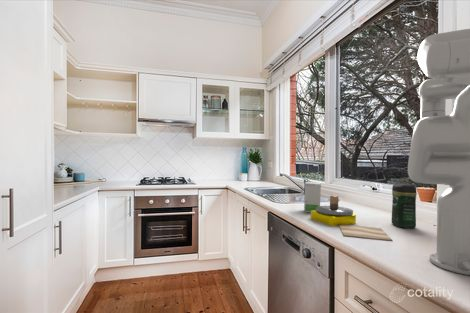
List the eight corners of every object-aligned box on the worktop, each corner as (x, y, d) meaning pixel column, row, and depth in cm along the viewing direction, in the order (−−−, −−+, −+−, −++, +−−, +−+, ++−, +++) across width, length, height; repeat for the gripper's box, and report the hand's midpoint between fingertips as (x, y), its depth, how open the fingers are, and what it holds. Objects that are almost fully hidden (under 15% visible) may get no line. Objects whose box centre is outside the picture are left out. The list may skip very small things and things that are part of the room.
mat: (392, 241, 90) (392, 239, 90) (343, 236, 94) (343, 235, 94) (380, 228, 105) (380, 228, 105) (339, 225, 110) (339, 224, 110)
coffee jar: (419, 229, 105) (420, 185, 105) (398, 228, 106) (399, 184, 106) (407, 223, 114) (408, 182, 115) (388, 222, 116) (389, 182, 116)
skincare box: (303, 212, 135) (304, 182, 135) (304, 209, 141) (304, 181, 141) (320, 213, 132) (321, 183, 132) (320, 211, 139) (320, 182, 139)
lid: (355, 217, 107) (356, 200, 107) (316, 213, 112) (316, 197, 112) (350, 209, 123) (350, 194, 123) (315, 207, 127) (315, 192, 127)
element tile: (308, 219, 122) (309, 209, 122) (332, 216, 127) (333, 207, 127) (332, 227, 108) (332, 216, 108) (357, 224, 114) (358, 213, 114)
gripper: (457, 112, 87) (456, 162, 87) (433, 120, 104) (432, 161, 104) (431, 113, 89) (430, 161, 89) (412, 120, 106) (411, 161, 106)
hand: (431, 161), depth 97 cm, fingers open, 9 cm apart
